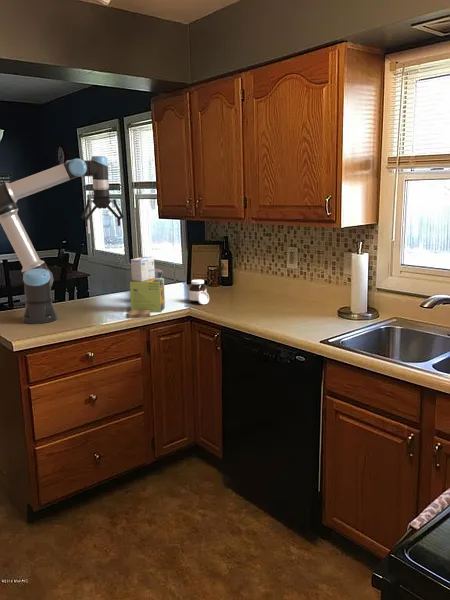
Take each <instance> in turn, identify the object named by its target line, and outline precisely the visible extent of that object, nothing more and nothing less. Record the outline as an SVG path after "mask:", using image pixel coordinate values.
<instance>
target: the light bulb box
mask: <svg viewBox="0 0 450 600" xmlns="http://www.w3.org/2000/svg"><path fill="white" fill-rule="evenodd" d="M154 266H155V257H153V256H142V257H141V256H140V257H137V258H132V259H130V269H131V270H130V271H131V281H132V280H133V281H145V280H149V279H153V278H155V271H154V269H155V268H154Z"/></svg>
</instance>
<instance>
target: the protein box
mask: <svg viewBox="0 0 450 600" xmlns="http://www.w3.org/2000/svg"><path fill="white" fill-rule="evenodd" d="M129 293H130V294H129V296H130V311H136V310H150V313H162V312H163V311H164V310H165V308H166V300H165V299H166V297H165V296H166V295H165V278H164V277H162V278H153V279H149V280H145V281H133V280H132V279H131V280H130V281H129Z"/></svg>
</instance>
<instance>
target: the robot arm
mask: <svg viewBox="0 0 450 600" xmlns="http://www.w3.org/2000/svg"><path fill="white" fill-rule="evenodd" d="M108 162H109V161H108V158H107V157H106V155H105V156H104V155H93V156H91V159H89V160H83V159H81V158H74V159H69V160H66V161H65V162H63V163H61V164H58V165H55V166H53V167H51V168H48V169H46V170H41V171H40V172H37V173H35V174H32V175H28V176H26V177H23V178H21V179H17V180H14V181H13V182H3V183H0V224H1V227H2V228H3V231H4V232H5V235H6V237H7V239H8V240H9V242H10V244H11V246H12V248H13V250H14V253H15V254H16V256H17V258H18V260H19V263H20V264H21V266H22V269H21V273H22V275H23V276H22V282H23V285H24V286H23V288H24V299H25V306H24V307H25V308H24V311H23V315H22V321H23V323H26V324H32V325H33V324H34V325H35V324H45V323H51V322H54V321H56V320H58V314H57V311H56V308H55V306H54V304H53V297H52V286H53V283H54V276H53V272H51V270H50V269H49V267H48V265H47V263H46V262H45V261H44V260H42V259H41V258H40V257H39V255H38V253H37V251H36V249H35V248H34V245H33V242H32V240H31V239H30V237H29V235H28V233H27V231H26V229H25V226H24V225H23V223H22V220H21V219H20V217H19V214H18V211H19V207H18V205H17V202H18V200H20V199H23V198H25V197H28V196H30V195H33V194H36V193H40V192H42V191H45V190H47V189H50V188H52V187H54V186H57V185H59V184H63V183H66V182H69V181H71V180H73V179H76V178H78V177H79V178H80V177H92V188H93V191H92V192H93V199H89V198H88V199H87V200H86V205H85V207H84V209H83V211H82V214H81V216H80V218H81V219H82V220H84V223H85V227H87V232H88V233H87V234H91V226H90V225H91V223H90V219H89V218H90V217H91V216H92V215H93V214H94V212H95V211H96V209H98V210H99V209H100V210H101V209H105V210H106V209H108V210H109V212H110V213H111V214H112V215H113V216H114V217H115V218H116V219H115V226H116V227H115V228H116V234H119V227H120V226H121V220H122V219H124V215H123V212H122V210H121V209H120V207H119V205H118V204H117V203H118V202H117V199H116V198H114V199H111V197H110V190H109V189H110V183H109V181H110V180H109V163H108ZM92 203H93V204H94V206H93V207H92V209H91V210H90V211H89V213H88V214H87V212H88V209H89V207H90V206H91V205H92ZM110 204H113V205H114V207H115V209H116V210H117V212H118V213H116V212H115V210H114V209H113V208H112V207H111V206H110ZM86 214H87V215H86ZM118 214H119V215H118Z"/></svg>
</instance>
